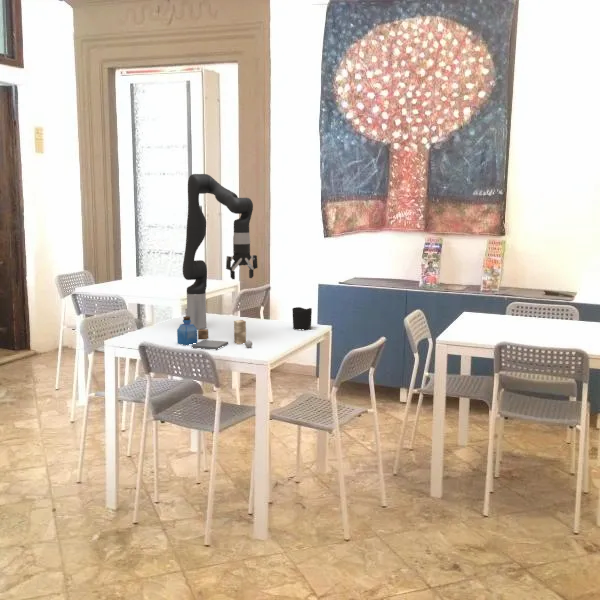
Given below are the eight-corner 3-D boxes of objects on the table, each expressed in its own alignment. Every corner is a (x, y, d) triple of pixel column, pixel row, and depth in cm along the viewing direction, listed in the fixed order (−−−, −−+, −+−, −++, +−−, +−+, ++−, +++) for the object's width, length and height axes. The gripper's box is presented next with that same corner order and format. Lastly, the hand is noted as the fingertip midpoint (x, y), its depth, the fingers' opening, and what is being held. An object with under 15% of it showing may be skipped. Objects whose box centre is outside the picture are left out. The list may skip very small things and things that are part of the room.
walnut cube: (198, 339, 335) (197, 330, 335) (199, 337, 339) (199, 329, 339) (206, 339, 335) (206, 331, 334) (208, 337, 339) (208, 329, 338)
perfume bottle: (188, 341, 331) (187, 315, 329) (197, 343, 327) (196, 316, 325) (177, 343, 326) (176, 317, 324) (186, 345, 322) (185, 318, 320)
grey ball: (243, 347, 317) (243, 340, 317) (246, 346, 320) (246, 339, 320) (250, 348, 316) (250, 341, 316) (253, 346, 319) (253, 339, 319)
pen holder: (297, 331, 354) (297, 310, 352) (289, 327, 362) (289, 307, 360) (314, 329, 358) (315, 309, 356) (306, 326, 366) (306, 306, 364)
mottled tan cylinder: (237, 344, 325) (237, 322, 323) (234, 342, 328) (234, 320, 326) (246, 343, 326) (245, 321, 325) (242, 341, 330) (242, 319, 328)
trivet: (191, 348, 317) (191, 345, 317) (203, 342, 328) (203, 339, 328) (216, 350, 313) (216, 347, 313) (228, 344, 325) (228, 341, 324)
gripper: (253, 241, 335) (253, 276, 337) (223, 242, 328) (224, 278, 331) (259, 242, 328) (259, 278, 331) (229, 243, 322) (230, 280, 324)
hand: (242, 278), depth 331 cm, fingers open, 8 cm apart
